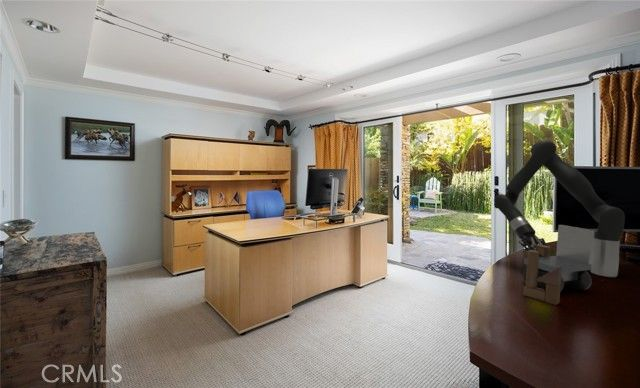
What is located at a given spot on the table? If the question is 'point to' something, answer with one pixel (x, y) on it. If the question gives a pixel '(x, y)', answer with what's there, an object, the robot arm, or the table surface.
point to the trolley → (569, 258)
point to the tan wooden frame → (550, 278)
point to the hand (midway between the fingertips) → (543, 258)
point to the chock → (543, 250)
